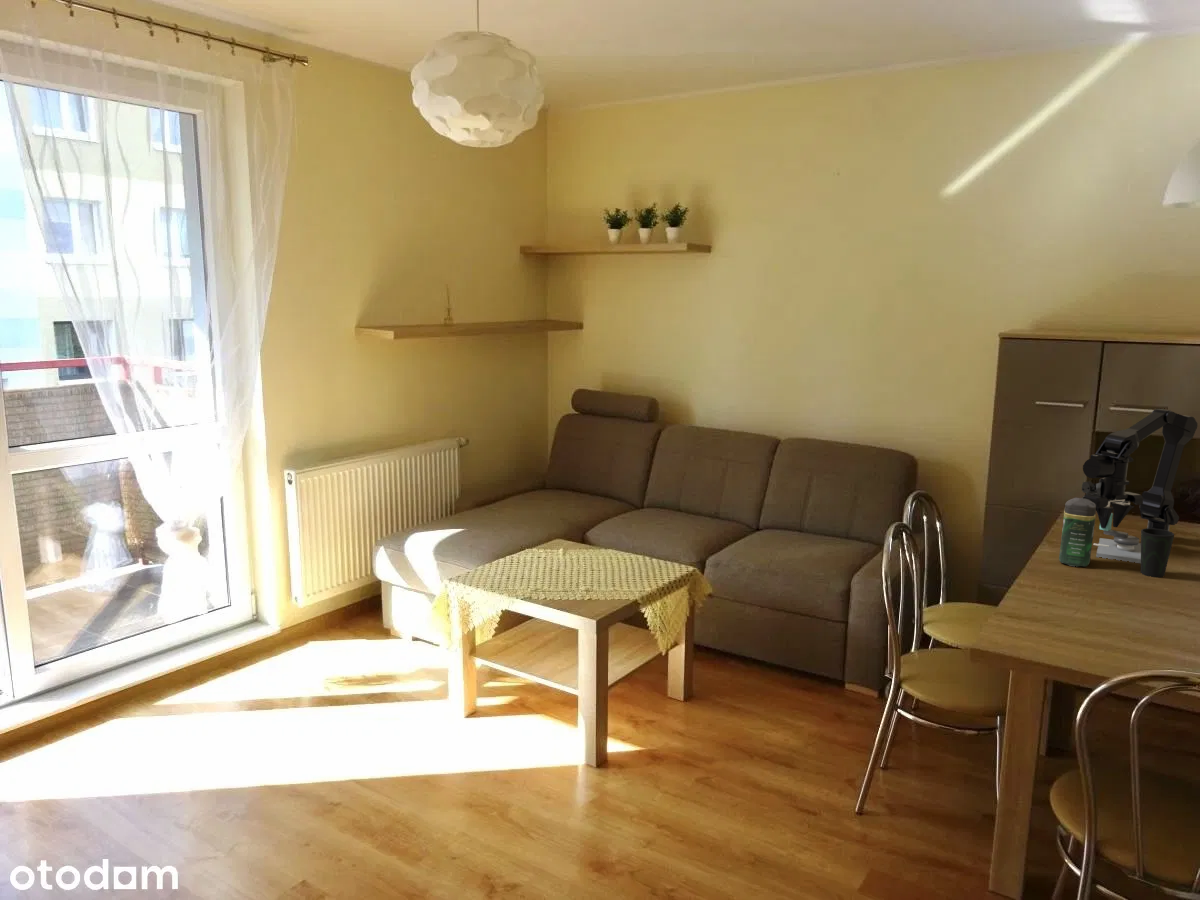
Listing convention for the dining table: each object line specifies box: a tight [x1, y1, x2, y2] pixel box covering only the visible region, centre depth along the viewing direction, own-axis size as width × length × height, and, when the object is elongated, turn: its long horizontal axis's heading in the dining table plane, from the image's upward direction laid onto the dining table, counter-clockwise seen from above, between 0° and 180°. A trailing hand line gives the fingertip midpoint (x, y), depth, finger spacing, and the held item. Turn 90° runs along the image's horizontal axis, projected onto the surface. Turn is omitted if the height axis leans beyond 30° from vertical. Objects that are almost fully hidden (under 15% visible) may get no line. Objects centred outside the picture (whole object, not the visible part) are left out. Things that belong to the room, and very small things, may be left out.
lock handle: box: [1098, 512, 1140, 545], centre depth 260 cm, size 6×10×8 cm, turn 41°
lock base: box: [1092, 537, 1141, 564], centre depth 260 cm, size 18×15×3 cm
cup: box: [1140, 527, 1175, 578], centre depth 240 cm, size 8×8×12 cm
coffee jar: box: [1058, 497, 1097, 567], centre depth 249 cm, size 10×8×19 cm
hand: (1109, 527), depth 263 cm, fingers open, 4 cm apart
